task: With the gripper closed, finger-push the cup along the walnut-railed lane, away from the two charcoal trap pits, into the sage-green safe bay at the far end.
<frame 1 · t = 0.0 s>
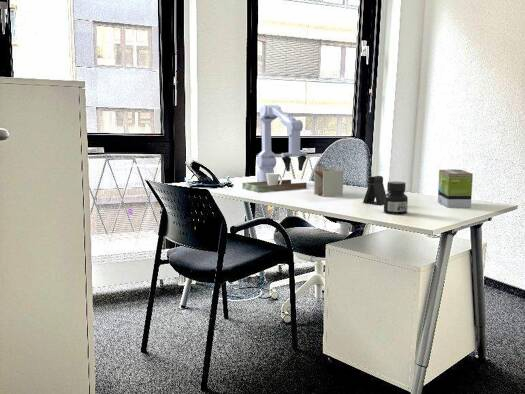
hand: (294, 170, 258), 10 cm above the table, tool pointing down, fingers open, 7 cm apart
tea box: (453, 205, 216), on the table
trap box: (274, 188, 266), on the table
cup: (274, 188, 266), resting in trap box
black binoculars: (375, 204, 219), on the table
ink bottle: (395, 213, 198), on the table
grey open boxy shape: (328, 196, 244), on the table
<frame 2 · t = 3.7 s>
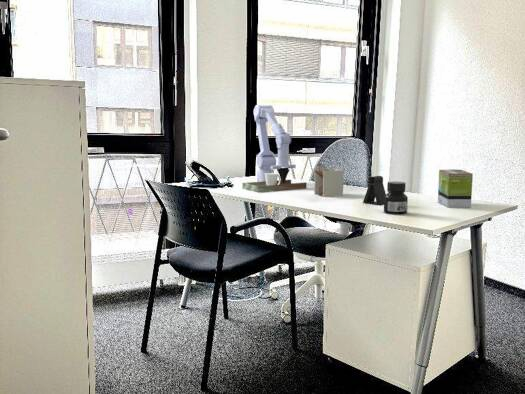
hand: (283, 182, 268), 3 cm above the table, tool pointing down, fingers closed
cup: (273, 188, 266), resting in trap box, touching gripper
everything else where it was.
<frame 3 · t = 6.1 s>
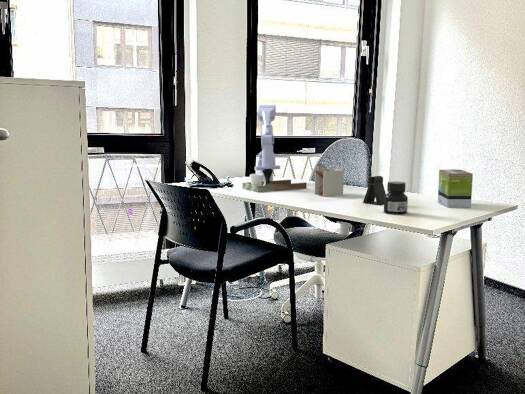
hand: (267, 183, 264), 3 cm above the table, tool pointing down, fingers closed, pressing on cup
cup: (258, 190, 261), resting in trap box, touching gripper
everything else where it was.
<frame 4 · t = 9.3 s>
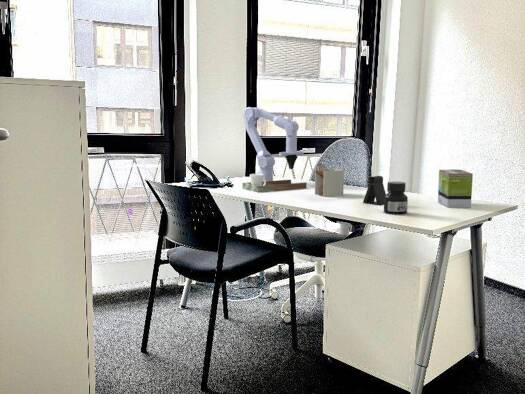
hand: (291, 168, 275), 9 cm above the table, tool pointing down, fingers closed
cup: (258, 190, 261), resting in trap box
everything else where it was.
at the end: cup inside the target area on the trap box (0.2 cm from its centre), point 0.0 cm above the trap box's base; cup tilted 0°; cup moved 9.8 cm from its start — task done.
